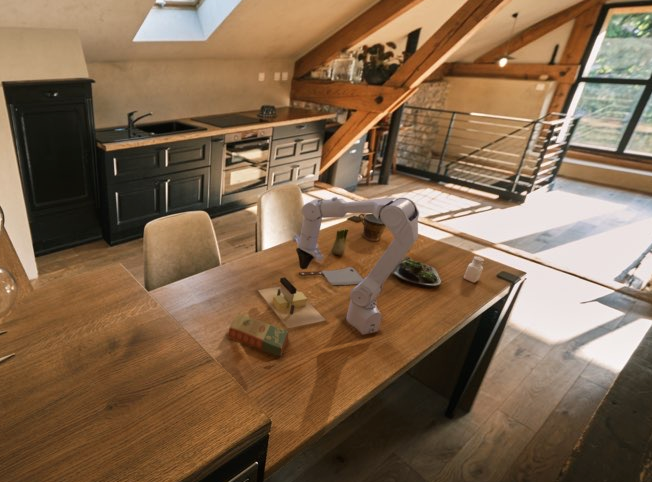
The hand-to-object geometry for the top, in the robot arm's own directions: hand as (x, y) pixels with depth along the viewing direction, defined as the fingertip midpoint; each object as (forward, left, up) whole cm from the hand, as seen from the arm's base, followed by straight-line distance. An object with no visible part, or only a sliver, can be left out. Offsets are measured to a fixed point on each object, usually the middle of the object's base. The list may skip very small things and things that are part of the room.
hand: (303, 268), depth 134 cm
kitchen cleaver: (+5, -17, -11) cm, 21 cm away
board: (-6, +8, -10) cm, 14 cm away
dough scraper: (-6, +10, -6) cm, 13 cm away
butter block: (-6, +6, -9) cm, 13 cm away
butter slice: (-6, +12, -9) cm, 16 cm away
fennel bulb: (+19, -31, -11) cm, 38 cm away
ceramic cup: (+29, -56, -11) cm, 64 cm away
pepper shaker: (-10, -70, -11) cm, 72 cm away
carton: (-17, +26, -11) cm, 33 cm away
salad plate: (-2, -50, -11) cm, 51 cm away
